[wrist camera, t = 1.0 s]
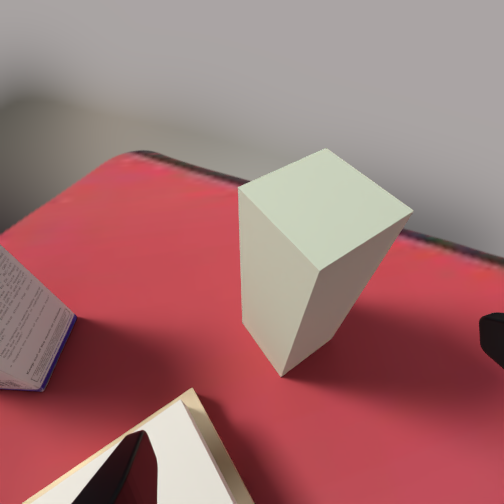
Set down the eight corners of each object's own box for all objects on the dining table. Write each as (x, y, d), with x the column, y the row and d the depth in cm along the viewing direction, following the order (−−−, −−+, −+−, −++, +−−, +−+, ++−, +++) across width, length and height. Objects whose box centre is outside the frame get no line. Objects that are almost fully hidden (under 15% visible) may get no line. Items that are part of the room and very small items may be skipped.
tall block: (331, 338, 23) (414, 211, 12) (280, 377, 21) (319, 270, 10) (290, 291, 25) (326, 147, 14) (242, 322, 24) (238, 187, 12)
